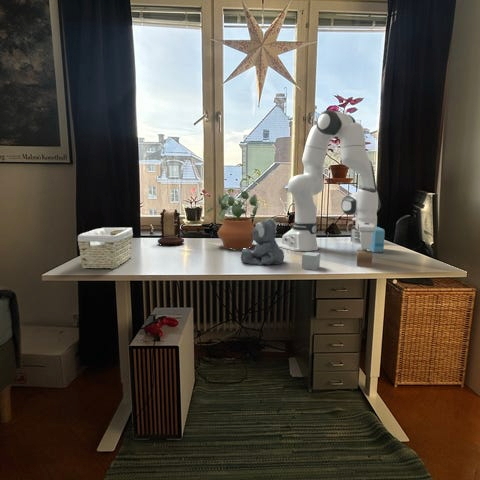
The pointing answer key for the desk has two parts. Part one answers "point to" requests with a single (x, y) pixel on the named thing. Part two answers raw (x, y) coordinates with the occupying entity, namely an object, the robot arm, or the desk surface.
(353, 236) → the french press
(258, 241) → the koala plush
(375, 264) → the desk surface
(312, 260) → the grey cube
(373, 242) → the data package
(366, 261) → the walnut cube
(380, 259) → the desk surface
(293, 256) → the desk surface
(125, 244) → the storage basket
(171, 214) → the scroll
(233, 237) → the potted plant
